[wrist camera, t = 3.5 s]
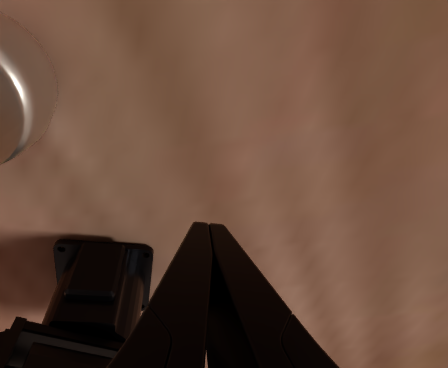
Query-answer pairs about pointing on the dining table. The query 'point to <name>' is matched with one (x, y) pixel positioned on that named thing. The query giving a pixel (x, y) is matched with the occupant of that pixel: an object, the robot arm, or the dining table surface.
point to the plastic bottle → (23, 89)
